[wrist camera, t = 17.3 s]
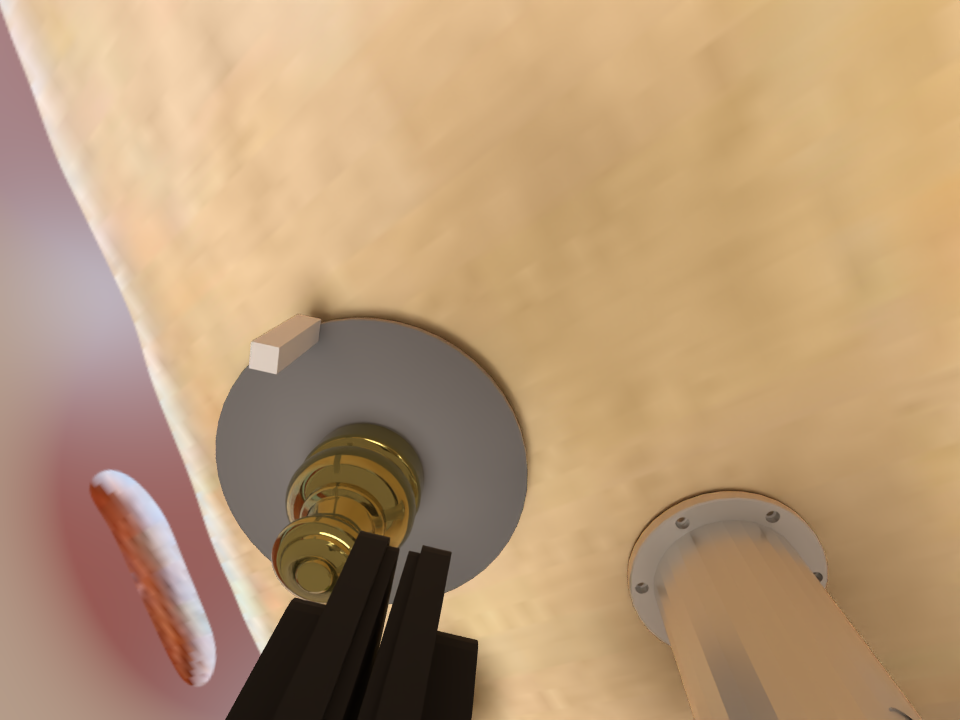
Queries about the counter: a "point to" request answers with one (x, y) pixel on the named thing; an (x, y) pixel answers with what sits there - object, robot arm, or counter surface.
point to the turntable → (384, 402)
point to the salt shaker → (345, 505)
